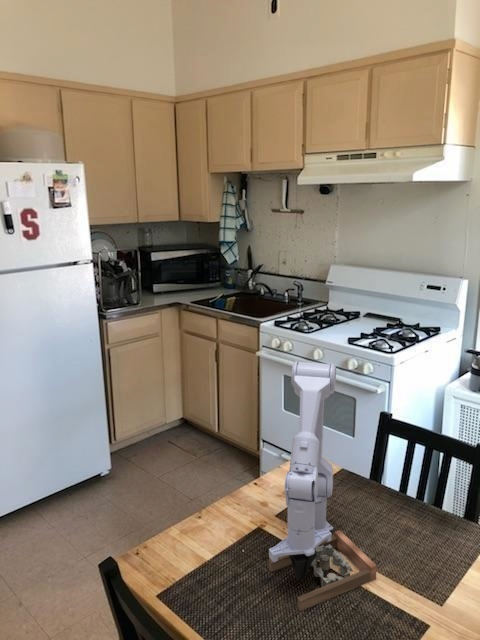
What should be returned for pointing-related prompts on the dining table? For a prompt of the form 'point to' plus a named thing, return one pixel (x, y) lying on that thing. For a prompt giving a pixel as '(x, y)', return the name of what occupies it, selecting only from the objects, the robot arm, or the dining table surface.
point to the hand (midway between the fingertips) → (300, 577)
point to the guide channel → (341, 585)
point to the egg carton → (325, 564)
